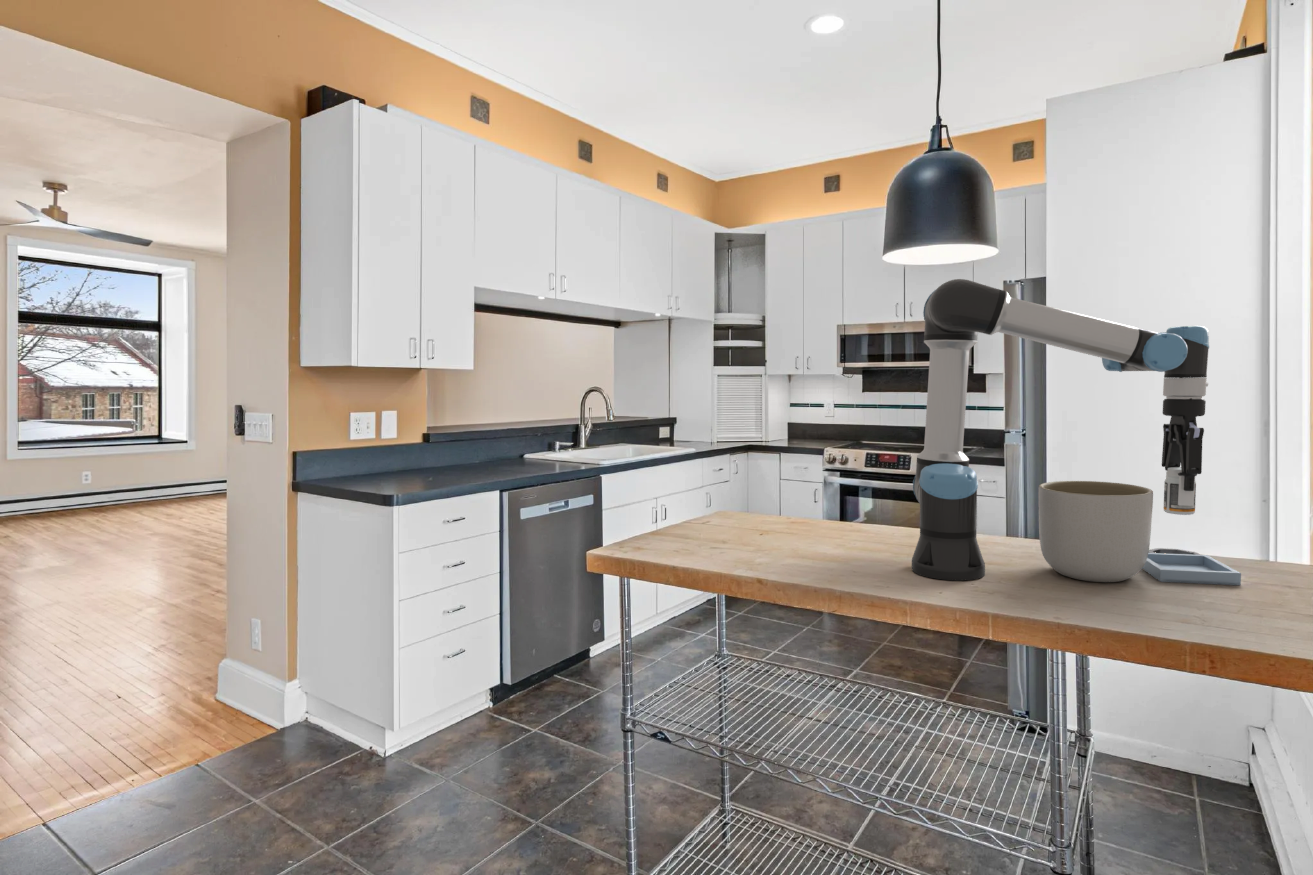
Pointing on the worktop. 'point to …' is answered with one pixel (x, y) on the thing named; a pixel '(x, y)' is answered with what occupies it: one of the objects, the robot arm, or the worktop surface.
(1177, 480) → the pill bottle
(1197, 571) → the tray
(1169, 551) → the ring
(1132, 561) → the planter
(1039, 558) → the worktop surface
